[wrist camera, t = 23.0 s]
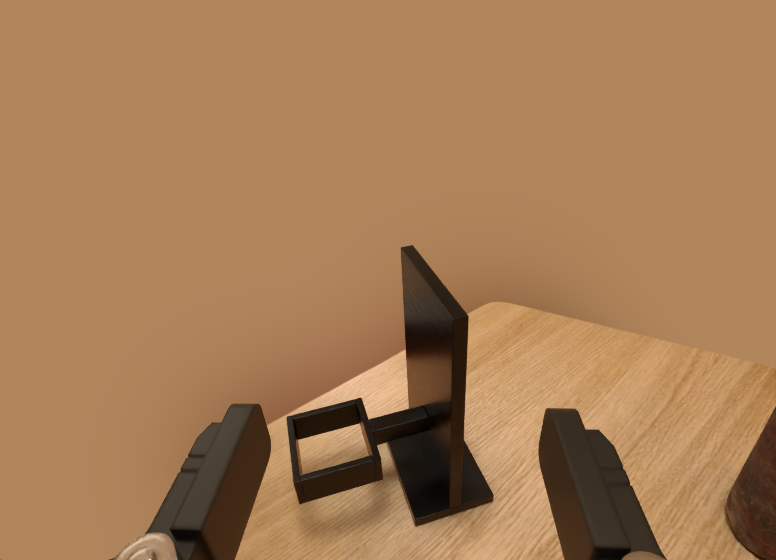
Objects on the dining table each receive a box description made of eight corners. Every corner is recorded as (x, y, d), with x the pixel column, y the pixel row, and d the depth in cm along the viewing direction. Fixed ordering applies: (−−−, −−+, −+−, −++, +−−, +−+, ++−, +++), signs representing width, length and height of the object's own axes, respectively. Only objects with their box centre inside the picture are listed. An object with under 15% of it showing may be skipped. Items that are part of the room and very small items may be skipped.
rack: (311, 560, 39) (255, 364, 27) (297, 451, 49) (252, 274, 37) (493, 501, 42) (513, 305, 31) (445, 411, 52) (447, 238, 41)
